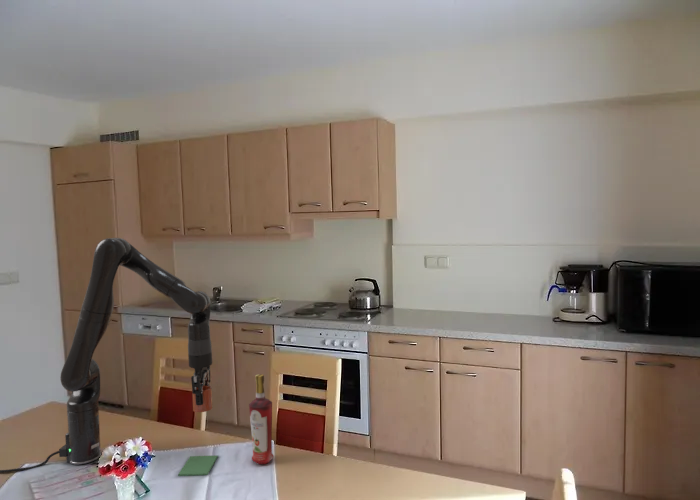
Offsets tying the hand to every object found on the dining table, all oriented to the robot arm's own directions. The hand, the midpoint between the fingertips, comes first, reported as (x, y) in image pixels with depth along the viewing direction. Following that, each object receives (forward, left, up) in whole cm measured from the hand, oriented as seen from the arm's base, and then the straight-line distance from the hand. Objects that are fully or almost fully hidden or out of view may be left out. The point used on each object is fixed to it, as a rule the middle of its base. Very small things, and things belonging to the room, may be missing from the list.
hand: (202, 400), depth 166 cm
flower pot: (0, 0, -3) cm, 3 cm away
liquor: (+21, -7, -18) cm, 28 cm away
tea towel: (+1, -9, -18) cm, 20 cm away
